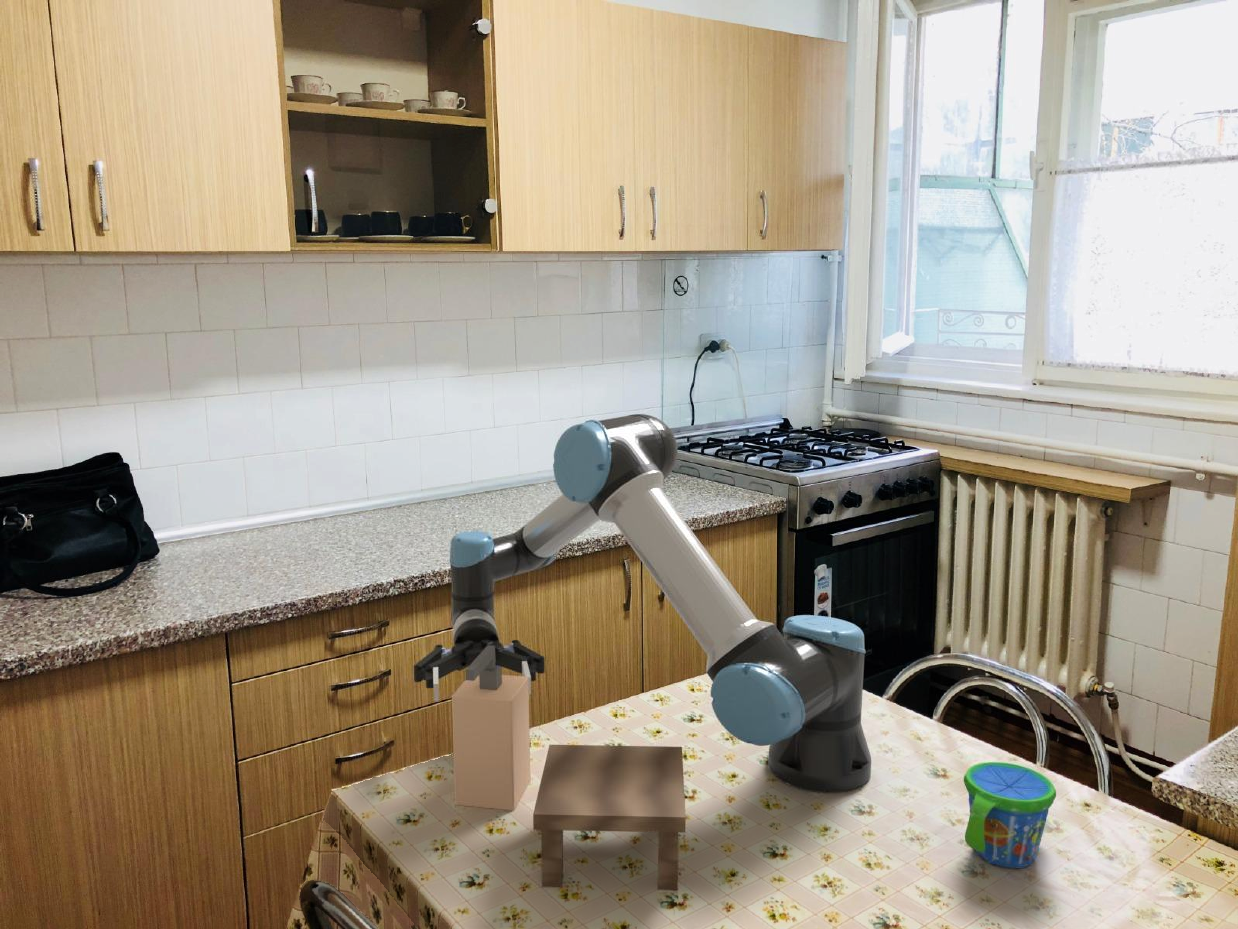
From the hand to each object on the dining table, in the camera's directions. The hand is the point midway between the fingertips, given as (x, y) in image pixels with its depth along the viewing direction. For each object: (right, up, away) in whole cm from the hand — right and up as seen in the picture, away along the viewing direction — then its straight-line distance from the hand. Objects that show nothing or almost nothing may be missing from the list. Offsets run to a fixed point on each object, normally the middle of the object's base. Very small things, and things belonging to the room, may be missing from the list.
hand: (482, 689), depth 147 cm
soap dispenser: (+2, -14, -7) cm, 16 cm away
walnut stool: (+19, -16, -20) cm, 32 cm away
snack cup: (+69, -17, -21) cm, 74 cm away
